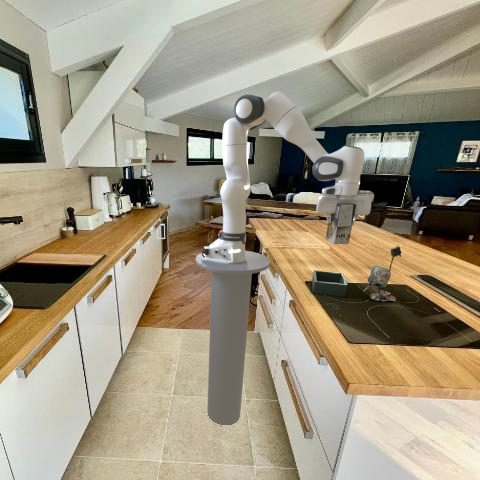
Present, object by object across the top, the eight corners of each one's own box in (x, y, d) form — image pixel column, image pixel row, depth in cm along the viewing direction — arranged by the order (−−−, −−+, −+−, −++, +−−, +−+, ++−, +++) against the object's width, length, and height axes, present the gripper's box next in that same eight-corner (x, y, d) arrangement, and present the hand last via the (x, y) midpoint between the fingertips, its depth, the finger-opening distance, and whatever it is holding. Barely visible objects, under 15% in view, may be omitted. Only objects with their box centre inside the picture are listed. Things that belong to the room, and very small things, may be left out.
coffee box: (349, 244, 129) (357, 204, 123) (333, 244, 128) (341, 204, 122) (339, 239, 137) (346, 201, 131) (324, 239, 137) (331, 201, 131)
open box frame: (312, 293, 123) (314, 281, 121) (311, 281, 135) (313, 270, 134) (344, 297, 119) (347, 285, 117) (340, 284, 132) (343, 273, 130)
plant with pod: (362, 291, 124) (374, 242, 117) (396, 297, 119) (409, 246, 112) (361, 298, 118) (373, 247, 110) (396, 305, 113) (411, 251, 105)
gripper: (373, 190, 125) (366, 225, 130) (318, 188, 131) (313, 222, 136) (376, 191, 119) (368, 227, 124) (319, 189, 125) (314, 224, 130)
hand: (339, 224), depth 130 cm, fingers closed on coffee box, 7 cm apart
